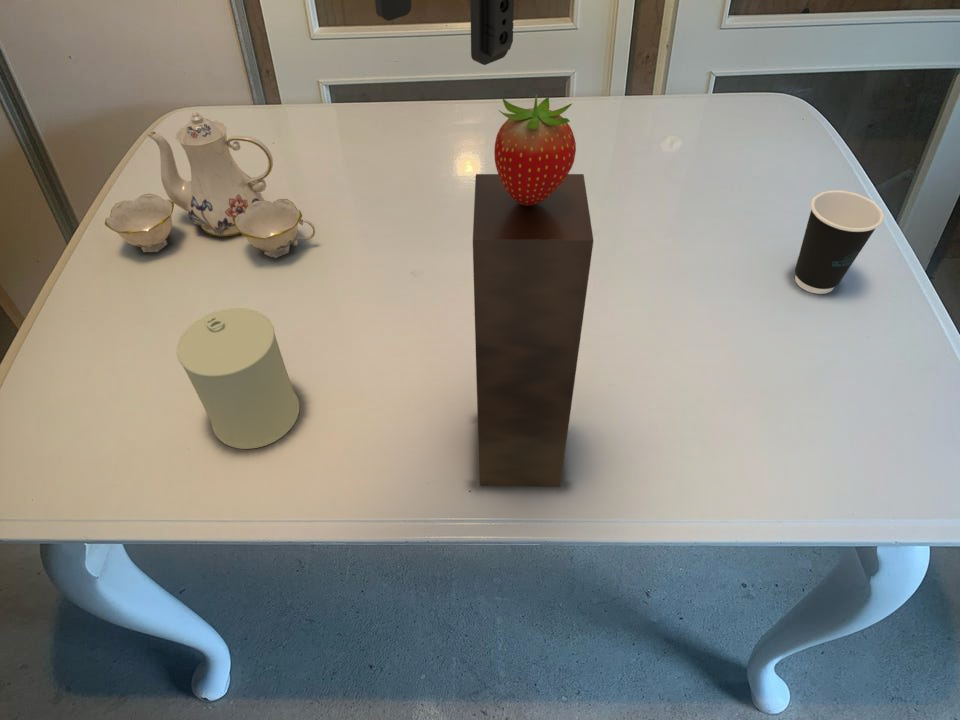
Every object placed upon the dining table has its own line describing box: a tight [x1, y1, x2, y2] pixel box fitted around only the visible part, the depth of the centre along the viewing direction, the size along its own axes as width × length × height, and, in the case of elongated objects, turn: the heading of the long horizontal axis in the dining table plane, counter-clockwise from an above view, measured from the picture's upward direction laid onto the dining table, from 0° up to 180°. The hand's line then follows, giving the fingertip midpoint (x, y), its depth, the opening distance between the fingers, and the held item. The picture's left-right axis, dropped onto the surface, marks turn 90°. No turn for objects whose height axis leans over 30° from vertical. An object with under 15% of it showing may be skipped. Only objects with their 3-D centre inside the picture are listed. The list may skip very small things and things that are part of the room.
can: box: [176, 307, 300, 450], centre depth 69 cm, size 9×9×12 cm
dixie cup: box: [794, 189, 885, 295], centre depth 83 cm, size 8×8×11 cm
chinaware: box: [104, 111, 316, 259], centre depth 90 cm, size 28×17×17 cm, turn 91°
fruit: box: [493, 94, 577, 206], centre depth 45 cm, size 5×5×8 cm
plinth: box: [472, 173, 594, 487], centre depth 59 cm, size 8×8×30 cm
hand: (440, 36), depth 40 cm, fingers open, 8 cm apart
